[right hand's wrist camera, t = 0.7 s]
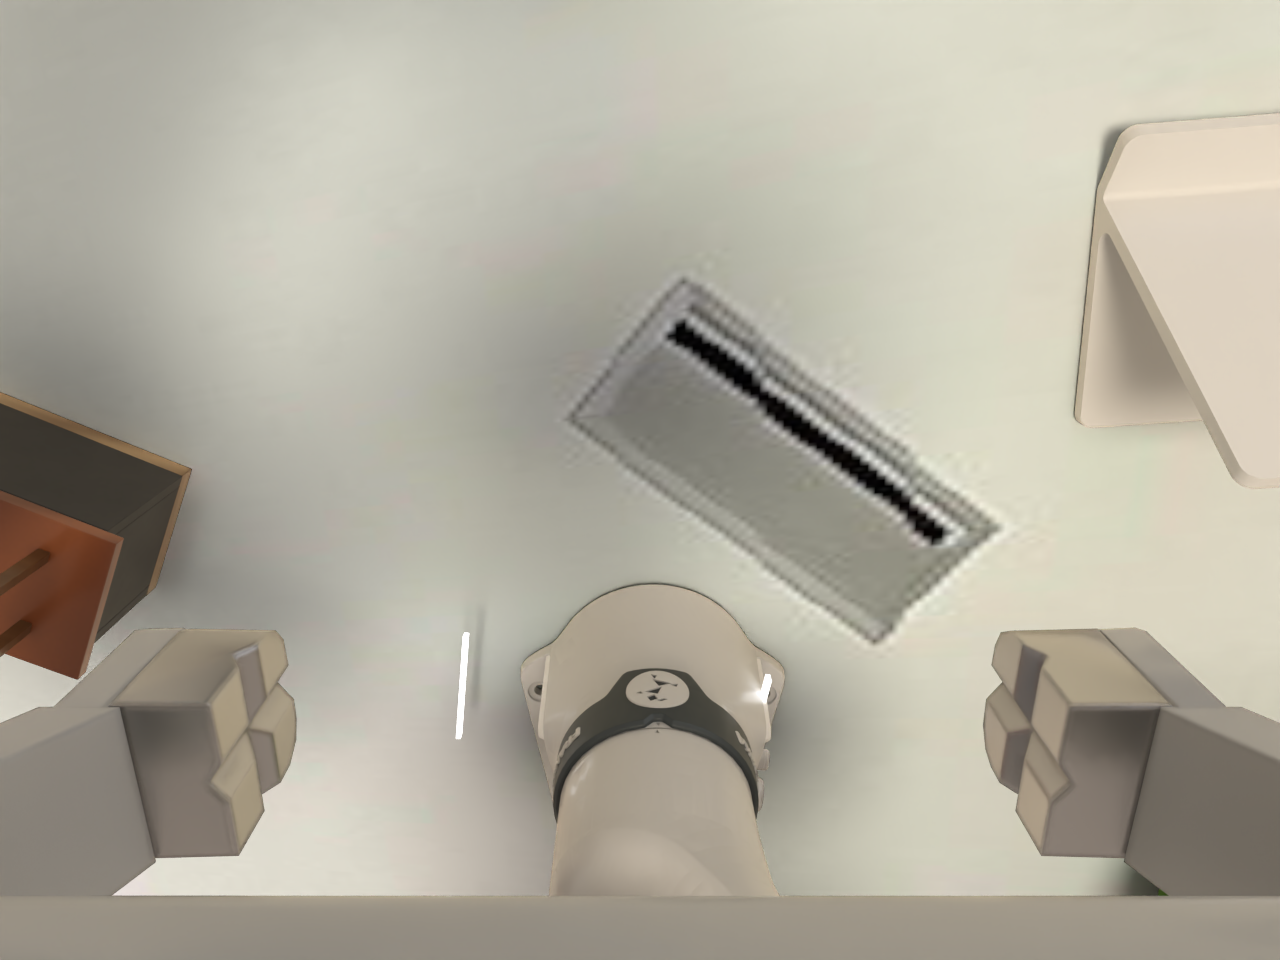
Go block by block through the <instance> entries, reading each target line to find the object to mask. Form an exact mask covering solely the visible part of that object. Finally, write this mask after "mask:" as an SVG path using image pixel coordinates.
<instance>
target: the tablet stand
mask: <svg viewBox="0 0 1280 960" xmlns="http://www.w3.org/2000/svg"><path fill="white" fill-rule="evenodd" d="M1075 418H1076V420H1077V421H1078V422H1079V423H1081V424H1082V425H1084V426H1086V427H1088V428H1100V427H1115V426H1129V425H1144V424H1158V423H1172V422H1187V421H1201V420H1203V421H1204V423H1205V425H1206V427H1207V429H1208V431H1209V433H1210V435H1211V437H1212V439H1213V441H1214V443H1215V445H1216V447H1217V449H1218V451H1219V453H1220V455H1221V457H1222V459H1223V461H1224V463H1225V465H1226V467H1227V469H1228V471H1229V473H1230V475H1231V477H1232V478H1233V479H1234V480H1235V481H1236V482H1237V483H1238V484H1240V485H1242V486H1244V487H1247V488H1251V489H1260V488H1275V487H1280V113H1274V114H1261V115H1249V116H1236V117H1223V118H1210V119H1197V120H1184V121H1171V122H1158V123H1145V124H1136V125H1133V126H1130V127H1129V128H1127V129H1126V130H1124V131H1123V132H1122V133H1121V135H1120V136H1119V138H1118V140H1117V142H1116V145H1115V147H1114V150H1113V152H1112V155H1111V157H1110V159H1109V162H1108V164H1107V167H1106V169H1105V172H1104V174H1103V176H1102V179H1101V181H1100V184H1099V186H1098V188H1097V196H1096V206H1095V216H1094V226H1093V236H1092V246H1091V256H1090V266H1089V276H1088V286H1087V296H1086V306H1085V315H1084V325H1083V335H1082V345H1081V355H1080V365H1079V375H1078V385H1077V395H1076V405H1075Z"/></svg>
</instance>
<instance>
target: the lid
mask: <svg viewBox="0 0 1280 960" xmlns="http://www.w3.org/2000/svg"><path fill="white" fill-rule="evenodd" d="M123 540H124V538H122V537H120V536H117V535H115V534H112V533H109V532H107V531H104V530H102V529H99V528H96V527H94V526H91V525H89V524H86V523H83V522H81V521H78V520H76V519H73V518H70V517H68V516H65V515H63V514H60V513H58V512H55V511H52V510H50V509H47V508H45V507H42V506H39V505H37V504H34V503H32V502H29V501H26V500H24V499H21V498H19V497H16V496H13V495H11V494H8V493H6V492H3V491H0V657H1V656H2V655H4V654H7V655H10V656H13V657H15V658H18V659H21V660H24V661H27V662H29V663H32V664H35V665H38V666H41V667H43V668H46V669H49V670H52V671H54V672H57V673H60V674H63V675H66V676H68V677H71V678H74V679H77V680H78V679H79V678H80V677H81V676H82V675H83V674H84V673H85V672H86V669H87V666H88V662H89V659H90V655H91V652H92V648H93V645H94V641H95V638H96V634H97V631H98V627H99V624H100V620H101V617H102V613H103V610H104V606H105V603H106V599H107V596H108V592H109V589H110V585H111V582H112V578H113V575H114V571H115V568H116V564H117V561H118V557H119V554H120V550H121V547H122V543H123Z"/></svg>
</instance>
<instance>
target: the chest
mask: <svg viewBox="0 0 1280 960" xmlns="http://www.w3.org/2000/svg"><path fill="white" fill-rule="evenodd" d="M191 470H192V469H190V468H188V467H185V466H183V465H180V464H178V463H175V462H173V461H170V460H168V459H165V458H163V457H160V456H158V455H155V454H153V453H150V452H148V451H145V450H143V449H140V448H138V447H135V446H133V445H130V444H128V443H125V442H123V441H120V440H118V439H115V438H113V437H111V436H108V435H106V434H103V433H101V432H98V431H96V430H93V429H91V428H88V427H86V426H83V425H81V424H78V423H76V422H73V421H71V420H68V419H66V418H63V417H61V416H58V415H56V414H53V413H51V412H48V411H46V410H43V409H41V408H38V407H36V406H33V405H31V404H28V403H26V402H23V401H21V400H18V399H16V398H13V397H11V396H8V395H6V394H3V393H1V392H0V491H3V492H6V493H8V494H11V495H13V496H16V497H19V498H21V499H24V500H26V501H29V502H32V503H34V504H37V505H39V506H42V507H45V508H47V509H50V510H52V511H55V512H58V513H60V514H63V515H65V516H68V517H70V518H73V519H76V520H78V521H81V522H83V523H86V524H89V525H91V526H94V527H96V528H99V529H102V530H104V531H107V532H109V533H112V534H115V535H117V536H120V537H122V538H124V540H123V543H122V547H121V550H120V554H119V557H118V561H117V564H116V568H115V571H114V575H113V578H112V582H111V585H110V589H109V592H108V596H107V599H106V603H105V606H104V610H103V613H102V617H101V620H100V624H99V627H98V631H97V634H96V638H95V641H94V643H95V642H96V641H97V640H98V639H99V638H100V637H101V636H103V635H104V634H105V633H106V632H107V631H108V630H109V629H110V628H111V627H112V626H113V625H114V624H116V623H117V622H118V621H119V620H120V619H121V618H122V617H123V616H124V615H125V614H126V613H127V612H129V611H130V610H131V609H132V608H133V607H134V606H135V605H136V604H137V603H138V602H139V601H140V600H142V599H143V598H144V597H145V596H147V595H148V594H149V593H150V592H151V591H152V590H153V589H154V588H155V587H156V585H157V581H158V578H159V575H160V572H161V568H162V565H163V562H164V559H165V555H166V552H167V549H168V545H169V542H170V539H171V536H172V532H173V529H174V526H175V523H176V519H177V516H178V513H179V510H180V506H181V503H182V500H183V496H184V493H185V490H186V487H187V483H188V480H189V477H190V474H191Z"/></svg>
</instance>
